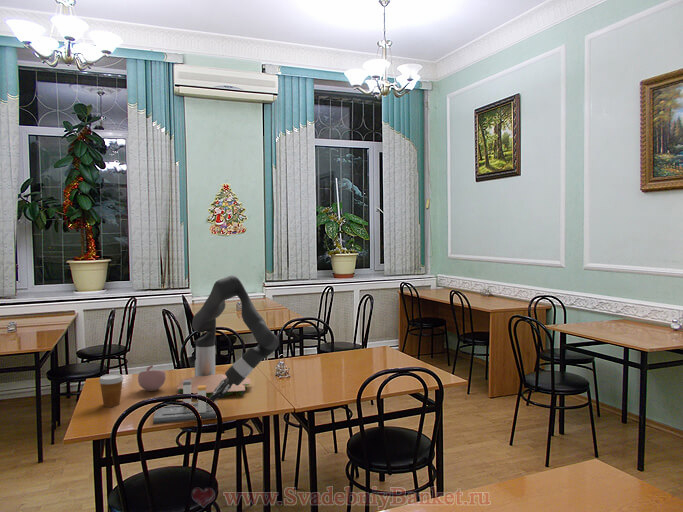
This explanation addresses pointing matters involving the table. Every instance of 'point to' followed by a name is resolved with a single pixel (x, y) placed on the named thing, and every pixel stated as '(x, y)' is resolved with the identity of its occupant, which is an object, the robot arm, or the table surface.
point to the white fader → (187, 390)
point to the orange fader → (200, 403)
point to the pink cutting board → (212, 383)
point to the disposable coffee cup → (111, 389)
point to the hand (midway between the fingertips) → (208, 403)
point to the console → (181, 413)
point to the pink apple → (151, 379)
